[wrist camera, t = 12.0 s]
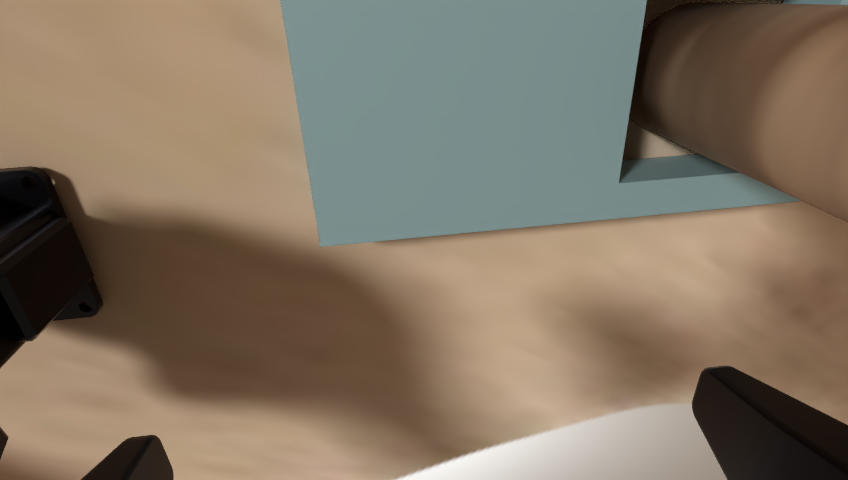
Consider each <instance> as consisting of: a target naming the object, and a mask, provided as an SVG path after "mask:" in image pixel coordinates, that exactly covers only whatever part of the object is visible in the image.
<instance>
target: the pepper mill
mask: <svg viewBox="0 0 848 480" xmlns="http://www.w3.org/2000/svg"><path fill="white" fill-rule="evenodd" d="M629 115H630V116H631V118H632V119H633V120H634V121H635V122H636V123H637V124H638V125H640V126H641V127H643V128H644V129H646V130H648V131H650V132H653V133H655V134H657V135H659V136H661V137H663V138H666V139H668V140H670V141H672V142H674V143H677V144H679V145H681V146H683V147H685V148H687V149H690V150H692V151H694V152H696V153H698V154H701V155H703V156H705V157H707V158H709V159H711V160H714V161H716V162H718V163H720V164H722V165H725V166H727V167H729V168H731V169H733V170H736V171H738V172H740V173H742V174H744V175H746V176H749V177H751V178H753V179H755V180H757V181H760V182H762V183H764V184H766V185H768V186H770V187H773V188H775V189H777V190H779V191H781V192H784V193H786V194H788V195H790V196H792V197H794V198H797V199H799V200H801V201H803V202H805V203H808V204H810V205H812V206H814V207H816V208H819V209H821V210H823V211H825V212H827V213H829V214H832V215H834V216H836V217H838V218H840V219H843V220H845V221H847V222H848V5H828V4H768V3H709V2H696V3H688V4H683V5H680V6H677V7H675V8H672V9H670V10H669V11H667V12H665V13H663V14H662V15H660V16H659V17H657V18H656V19H655V20H654V21H653V22H652V23H650V24H649V25H648V27H647V28H646V29H645V30H644V31H643V32H642V36H641V42H640V49H639V55H638V62H637V68H636V75H635V81H634V88H633V94H632V100H631V107H630V113H629Z"/></svg>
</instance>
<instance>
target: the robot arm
mask: <svg viewBox="0 0 848 480" xmlns="http://www.w3.org/2000/svg"><path fill="white" fill-rule="evenodd" d="M28 177H31V178H33V179H35V181H36V182H37V186H35V185H33V184H31V183H30V181H29V180H28ZM84 302H87V303H89V304H90V305H91V306H92V307H90V306H87V305H85V303H84ZM102 306H103V301H102V298H101V296H100V294H99V291H98V289H97V287H96V284H95V282H94V280H93V272H92V270H91V268H90V265H89V263H88V260H87V258H86V256H85V253H84V251H83V249H82V246H81V244H80V242H79V239H78V237H77V235H76V232H75V230H74V228H73V225H72V223H71V222H70V221H69V220H68V219H67V217H66V214H65V212H64V210H63V207H62V205H61V203H60V200H59V198H58V196H57V193H56V191H55V189H54V186H53V184H52V182H51V179H50V177H49V176H48V174H47V173H46V172H44V171H43V170H42V169H39V168H37V167H18V168H5V169H0V368H1V367H2V366H3V365H4V364H5V363H6V362H7V361H8V360H9V359H10V358H11V357H12V356H13V355H14V354H15V352H16V351H17V350H18V349H19V348H20V347H21V346H22V345H23V344H24V343H25V342H27V341H33V340H34V339H36V337H37V336H38V335H39V334H40V333H41V332H42V331H43V330H44V329H45V328H46V327H47V326H48V325H49V324H50V323H51V322H52V321H55V320H64V319H74V318H84V317H91V316H94V315H96V314H97V313H98V312H99V310H100V309H101V308H102ZM692 409H693V413H694V416H695V418H696V420H697V422H698V424H699V426H700V428H701V430H702V432H703V434H704V436H705V437H706V439H707V441H708V443H709V445H710V447H711V449H712V451H713V453H714V455H715V457H716V459H717V461H718V462H719V464H720V466H721V468H722V470H723V472H724V474H725V476H726V477H727V480H848V425H846V424H844V423H842V422H840V421H838V420H836V419H834V418H832V417H830V416H828V415H826V414H824V413H822V412H821V411H819V410H817V409H815V408H813V407H811V406H809V405H807V404H805V403H803V402H801V401H799V400H797V399H795V398H793V397H791V396H789V395H787V394H785V393H783V392H781V391H779V390H777V389H775V388H773V387H771V386H769V385H767V384H765V383H763V382H761V381H759V380H757V379H755V378H753V377H751V376H749V375H747V374H745V373H743V372H741V371H739V370H737V369H735V368H733V367H730V366H717V367H709V368H705V369H704V370H703V371H702V372H701V374H700V377H699V381H698V384H697V387H696V391H695V394H694V397H693V401H692ZM7 440H8V436H7V435H6V433H5V432H4V431H3V430H2V429H1V428H0V459H1V456H2V453H3V451H4V448H5V445H6V443H7ZM81 480H173V469H172V466H171V464H170V462H169V459H168V457H167V455H166V452H165V450H164V448H163V445H162V443H161V441H160V439H159V438H158V437H157V436H155V435H147V436H139V437H131V438H128V439H126V440H125V441H123V442H122V443H121V444H120V445H119V446H118V447H117V448H115V449H114V450H113V451H112V452H111V453H110V454H109V455H108V456H107V457H105V458H104V459H103V460H102V461H101V462H100V463H99V464H98V465H97V466H96V467H94V468H93V469H92V470H91V471H90V472H89V473H88V474H87V475H86V476H84V477H83V478H82V479H81Z"/></svg>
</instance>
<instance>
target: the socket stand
mask: <svg viewBox="0 0 848 480" xmlns="http://www.w3.org/2000/svg"><path fill="white" fill-rule="evenodd" d="M280 1H281V7H282V13H283V20H284V26H285V32H286V38H287V44H288V50H289V56H290V63H291V69H292V75H293V81H294V87H295V93H296V99H297V105H298V112H299V118H300V124H301V130H302V136H303V142H304V148H305V155H306V161H307V167H308V173H309V179H310V185H311V191H312V198H313V204H314V210H315V216H316V222H317V228H318V234H319V241H320V247H323V246H334V245H344V244H355V243H365V242H376V241H386V240H397V239H407V238H418V237H429V236H439V235H450V234H460V233H471V232H481V231H492V230H502V229H513V228H523V227H534V226H544V225H555V224H565V223H576V222H586V221H597V220H608V219H618V218H629V217H639V216H650V215H660V214H671V213H681V212H692V211H702V210H713V209H723V208H734V207H744V206H755V205H765V204H776V203H787V202H797V201H801V200H799V199H797V198H794V197H792V196H790V195H788V194H786V193H784V192H781V191H779V190H777V189H775V188H773V187H770V186H768V185H766V184H764V183H762V182H760V181H757V180H755V179H753V178H751V177H749V176H746V175H744V174H742V173H740V172H738V171H736V170H733V169H731V168H729V167H727V166H725V165H722V164H720V163H718V162H716V161H714V160H711V159H709V158H707V157H705V156H703V155H701V154H695V155H683V156H671V157H659V158H647V159H635V160H623V161H622V159H623V152H624V146H625V139H626V133H627V126H628V120H629V113H630V107H631V100H632V94H633V88H634V81H635V75H636V68H637V62H638V55H639V49H640V42H641V36H642V29H643V23H644V16H645V10H646V3H647V0H280ZM782 4H828V5H848V0H783V3H782Z"/></svg>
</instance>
